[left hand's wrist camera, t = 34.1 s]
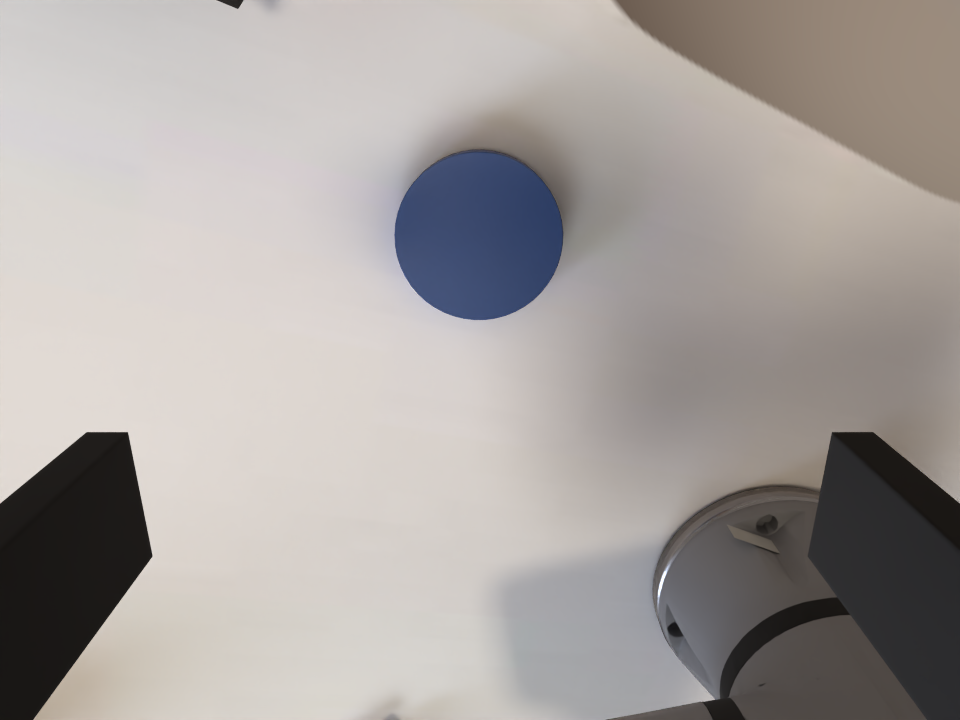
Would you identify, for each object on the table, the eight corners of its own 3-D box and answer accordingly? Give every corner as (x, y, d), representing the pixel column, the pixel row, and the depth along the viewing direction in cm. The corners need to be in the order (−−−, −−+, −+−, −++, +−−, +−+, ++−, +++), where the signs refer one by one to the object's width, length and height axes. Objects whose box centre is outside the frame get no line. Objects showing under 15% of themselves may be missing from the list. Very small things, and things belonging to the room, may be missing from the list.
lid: (368, 197, 38) (363, 201, 36) (516, 118, 37) (518, 119, 35) (445, 336, 41) (443, 346, 39) (584, 268, 39) (590, 275, 38)
